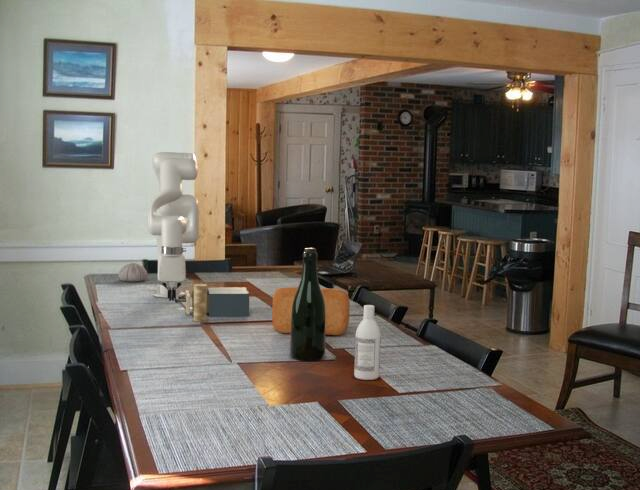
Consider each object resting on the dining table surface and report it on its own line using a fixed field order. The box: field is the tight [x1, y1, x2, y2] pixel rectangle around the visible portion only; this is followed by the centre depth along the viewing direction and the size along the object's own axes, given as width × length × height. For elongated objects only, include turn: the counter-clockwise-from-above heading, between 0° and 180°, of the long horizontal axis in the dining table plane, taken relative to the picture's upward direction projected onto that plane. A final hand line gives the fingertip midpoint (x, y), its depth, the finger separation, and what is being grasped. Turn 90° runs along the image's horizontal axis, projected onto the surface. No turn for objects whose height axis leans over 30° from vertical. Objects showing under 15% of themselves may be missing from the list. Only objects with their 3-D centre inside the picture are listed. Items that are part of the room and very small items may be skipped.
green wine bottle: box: [289, 247, 326, 362], centre depth 238 cm, size 10×10×33 cm
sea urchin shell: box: [117, 262, 149, 283], centre depth 372 cm, size 13×14×8 cm
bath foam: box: [353, 304, 382, 381], centre depth 219 cm, size 7×7×20 cm
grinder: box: [193, 283, 208, 323], centre depth 287 cm, size 5×5×13 cm
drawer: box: [174, 289, 209, 315], centre depth 301 cm, size 18×13×7 cm
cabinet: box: [207, 286, 250, 318], centre depth 303 cm, size 15×15×9 cm
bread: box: [271, 286, 351, 336], centre depth 277 cm, size 16×26×17 cm
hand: (171, 300), depth 298 cm, fingers closed
